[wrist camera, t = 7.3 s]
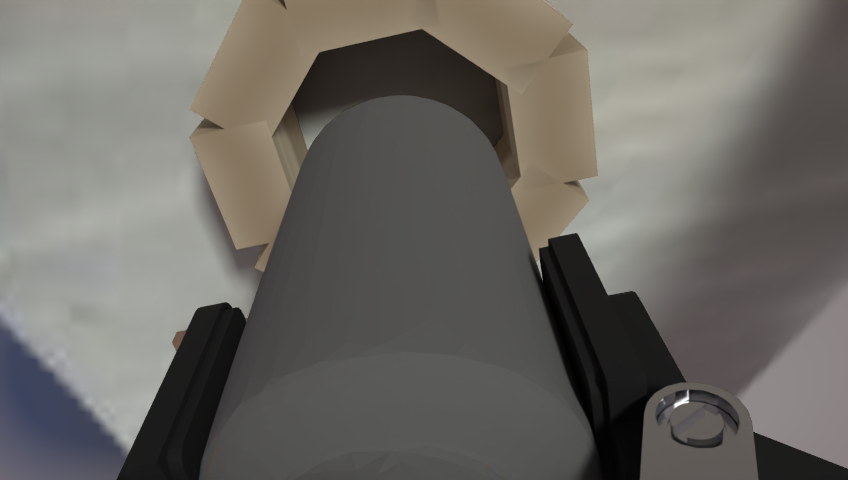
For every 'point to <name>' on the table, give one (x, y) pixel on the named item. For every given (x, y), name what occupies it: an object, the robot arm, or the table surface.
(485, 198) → the bottle
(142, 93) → the table surface
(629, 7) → the table surface
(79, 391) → the table surface
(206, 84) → the segmented wooden ring
